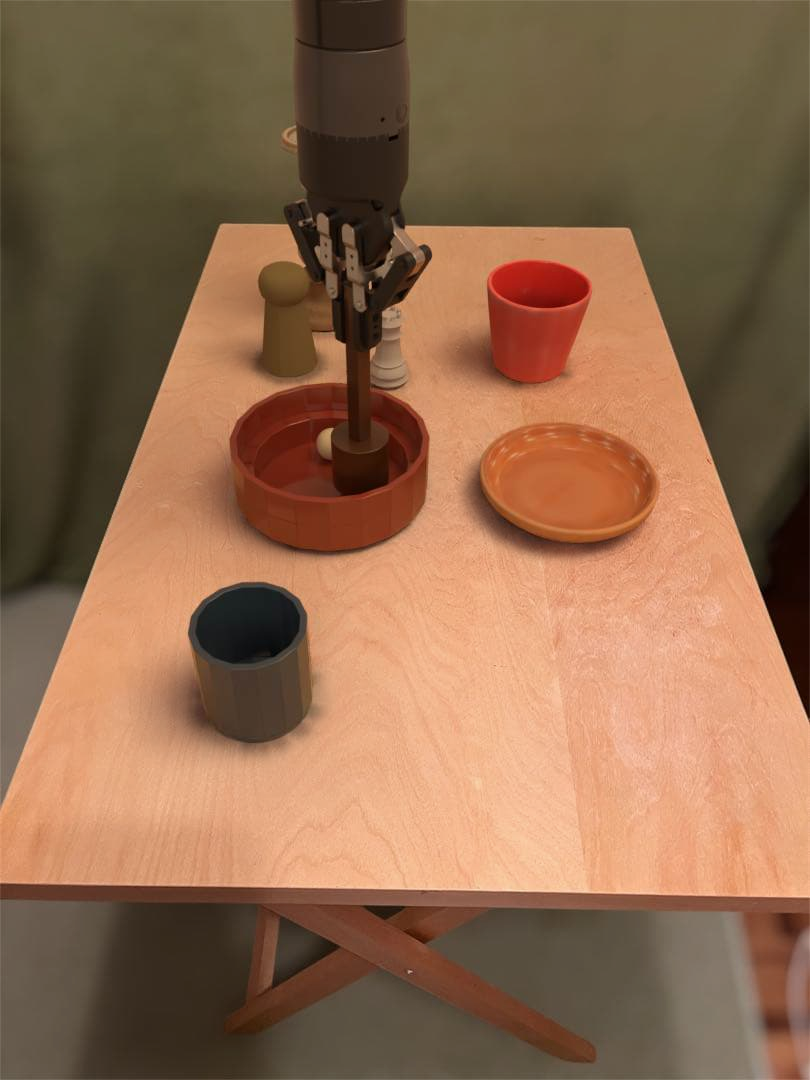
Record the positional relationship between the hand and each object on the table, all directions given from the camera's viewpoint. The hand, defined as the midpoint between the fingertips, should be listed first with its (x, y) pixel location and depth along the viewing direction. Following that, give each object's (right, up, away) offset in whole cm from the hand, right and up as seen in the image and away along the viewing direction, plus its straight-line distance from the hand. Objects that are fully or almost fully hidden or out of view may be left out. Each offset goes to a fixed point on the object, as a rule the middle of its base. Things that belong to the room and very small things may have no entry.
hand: (357, 342), depth 72 cm
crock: (-7, -27, -6) cm, 28 cm away
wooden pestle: (0, -10, +10) cm, 14 cm away
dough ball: (-3, -7, +13) cm, 15 cm away
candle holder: (-6, +11, +36) cm, 38 cm away
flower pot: (+17, +4, +28) cm, 33 cm away
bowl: (-3, -11, +12) cm, 16 cm away
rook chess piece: (+2, +1, +26) cm, 26 cm away
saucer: (+18, -12, +12) cm, 25 cm away
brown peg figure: (-9, +4, +28) cm, 29 cm away
